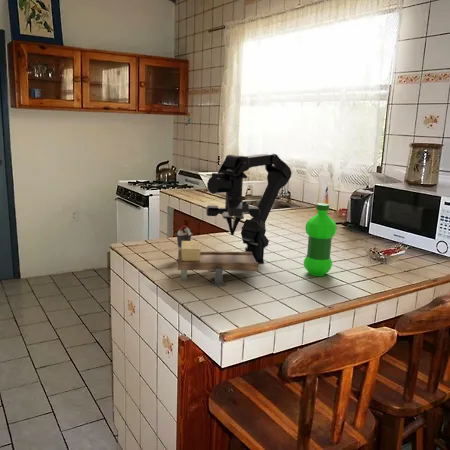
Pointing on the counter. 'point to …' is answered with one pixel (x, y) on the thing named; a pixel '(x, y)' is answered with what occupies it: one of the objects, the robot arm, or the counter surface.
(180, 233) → the sundae
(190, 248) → the tan wood-grain block
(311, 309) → the counter surface
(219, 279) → the pivot stand
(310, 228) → the plastic bottle
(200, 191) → the counter surface
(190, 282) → the counter surface
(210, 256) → the wooden tray
